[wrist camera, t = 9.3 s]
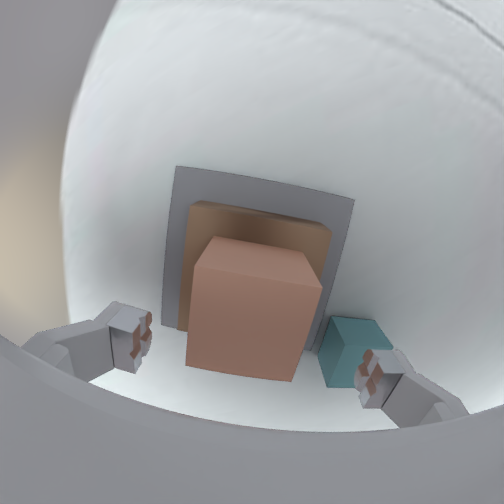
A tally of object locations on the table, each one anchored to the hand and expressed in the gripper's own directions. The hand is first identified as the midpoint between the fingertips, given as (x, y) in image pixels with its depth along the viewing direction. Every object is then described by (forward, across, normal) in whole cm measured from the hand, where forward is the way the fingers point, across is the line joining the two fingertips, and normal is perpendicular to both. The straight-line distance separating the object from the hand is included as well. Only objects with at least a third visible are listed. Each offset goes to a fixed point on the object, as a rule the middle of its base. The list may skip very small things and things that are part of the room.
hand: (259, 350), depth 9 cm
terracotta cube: (+7, 0, 0) cm, 7 cm away
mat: (+10, +1, 0) cm, 10 cm away
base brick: (+10, +1, 0) cm, 10 cm away
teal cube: (+10, -8, +6) cm, 14 cm away
